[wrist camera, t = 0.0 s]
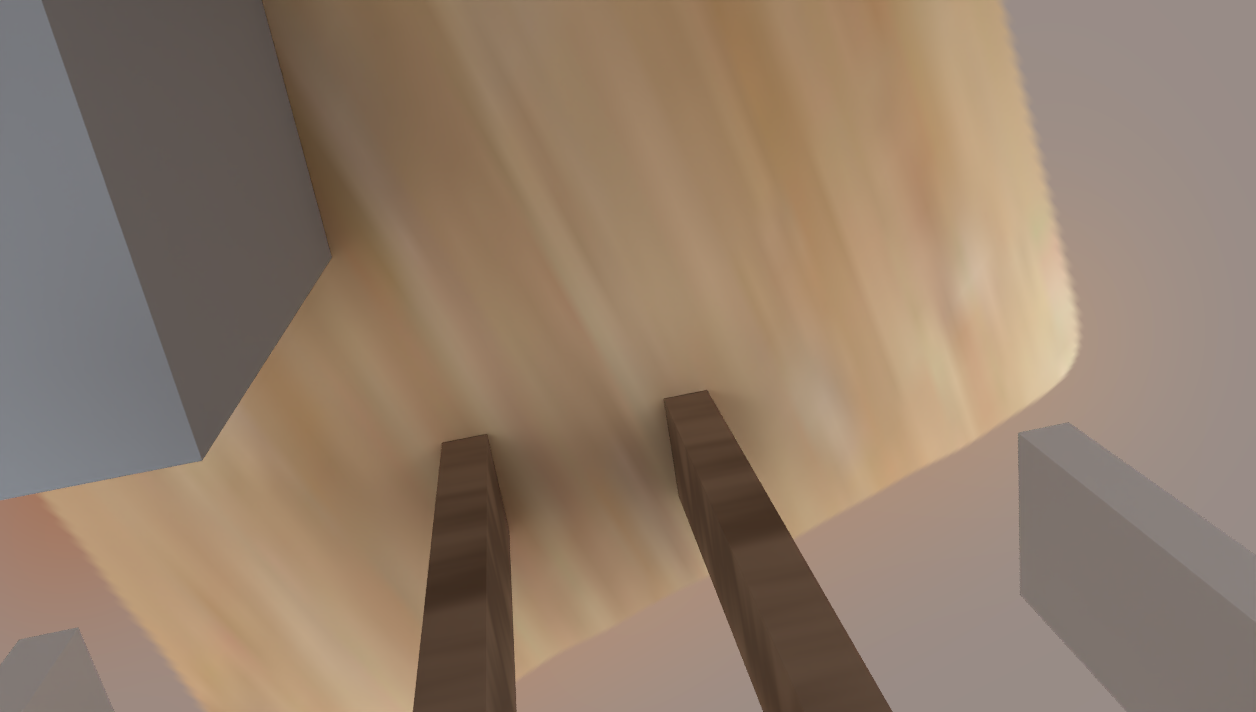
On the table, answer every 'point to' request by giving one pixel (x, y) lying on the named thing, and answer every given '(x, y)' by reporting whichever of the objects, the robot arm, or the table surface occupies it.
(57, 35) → the block
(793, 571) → the stand
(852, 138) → the table surface
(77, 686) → the robot arm
